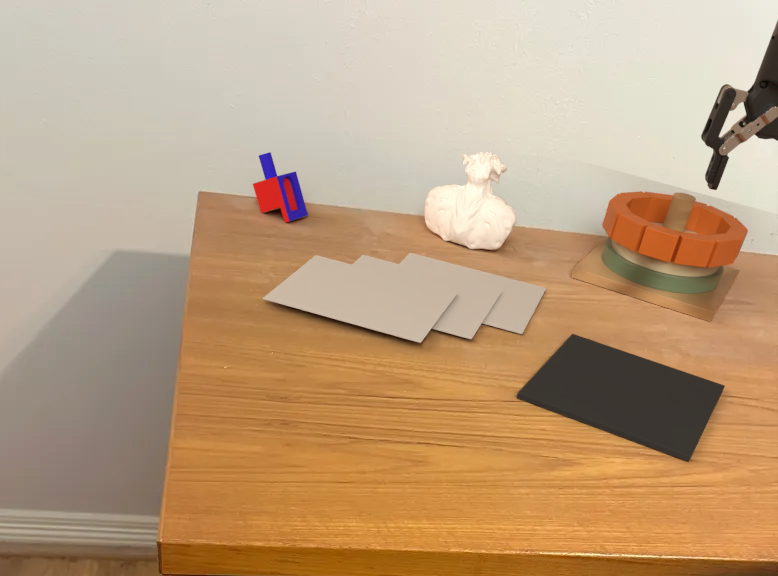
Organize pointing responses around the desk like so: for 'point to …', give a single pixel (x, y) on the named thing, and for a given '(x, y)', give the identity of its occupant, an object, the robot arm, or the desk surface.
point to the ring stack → (659, 271)
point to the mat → (625, 395)
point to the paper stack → (409, 296)
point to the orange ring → (706, 248)
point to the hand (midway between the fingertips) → (747, 194)
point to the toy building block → (279, 191)
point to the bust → (472, 206)
